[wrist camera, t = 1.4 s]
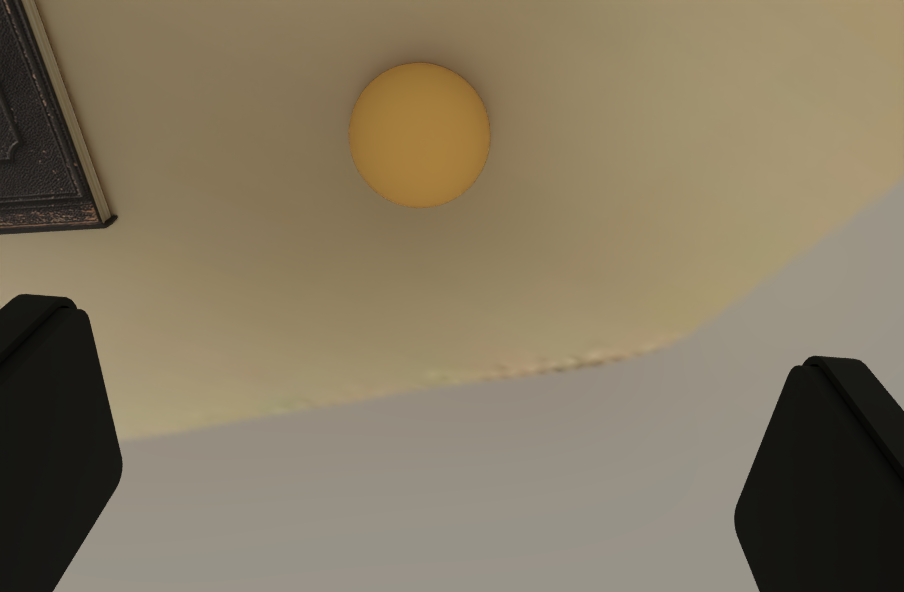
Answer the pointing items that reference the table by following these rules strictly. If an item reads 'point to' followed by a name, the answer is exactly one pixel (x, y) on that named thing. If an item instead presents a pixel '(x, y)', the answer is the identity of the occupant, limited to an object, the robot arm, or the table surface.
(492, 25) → the table surface
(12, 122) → the hardcover book
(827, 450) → the robot arm
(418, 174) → the ball
